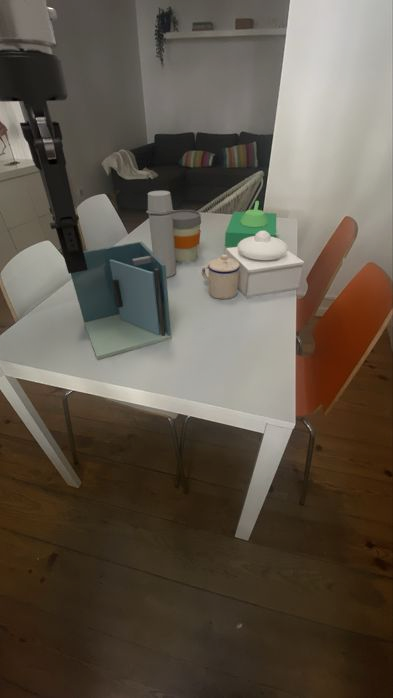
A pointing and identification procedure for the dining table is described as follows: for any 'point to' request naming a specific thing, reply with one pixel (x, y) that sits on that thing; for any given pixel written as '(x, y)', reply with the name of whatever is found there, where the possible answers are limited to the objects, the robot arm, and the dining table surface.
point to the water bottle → (162, 228)
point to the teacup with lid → (222, 277)
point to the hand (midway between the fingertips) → (77, 269)
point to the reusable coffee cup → (186, 234)
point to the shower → (101, 305)
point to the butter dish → (265, 265)
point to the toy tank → (249, 225)
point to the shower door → (135, 295)
